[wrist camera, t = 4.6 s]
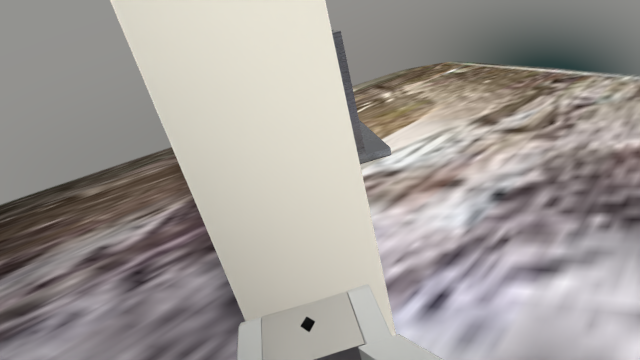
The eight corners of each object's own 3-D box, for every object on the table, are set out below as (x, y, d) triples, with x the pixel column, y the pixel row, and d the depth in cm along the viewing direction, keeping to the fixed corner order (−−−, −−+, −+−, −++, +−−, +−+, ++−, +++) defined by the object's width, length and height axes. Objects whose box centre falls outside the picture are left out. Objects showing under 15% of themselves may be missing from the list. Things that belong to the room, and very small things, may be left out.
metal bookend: (331, 171, 30) (298, 41, 26) (313, 137, 40) (286, 37, 36) (391, 154, 31) (367, 23, 27) (359, 124, 40) (338, 23, 36)
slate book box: (278, 398, 14) (90, -47, 8) (264, 203, 28) (195, -1, 23) (401, 358, 14) (304, -100, 8) (324, 186, 29) (270, -21, 23)
